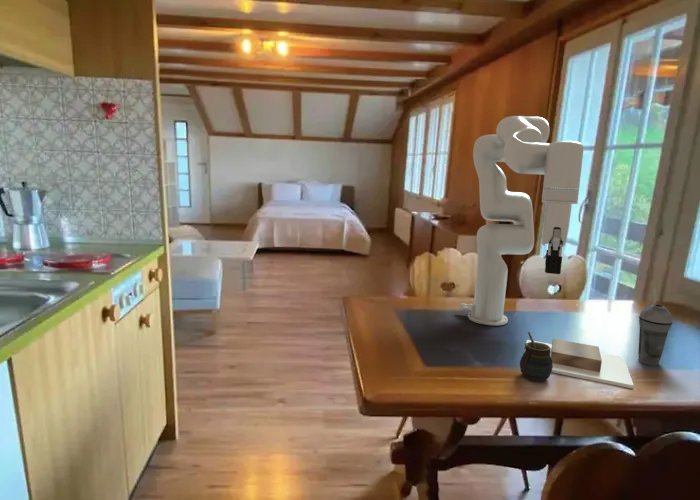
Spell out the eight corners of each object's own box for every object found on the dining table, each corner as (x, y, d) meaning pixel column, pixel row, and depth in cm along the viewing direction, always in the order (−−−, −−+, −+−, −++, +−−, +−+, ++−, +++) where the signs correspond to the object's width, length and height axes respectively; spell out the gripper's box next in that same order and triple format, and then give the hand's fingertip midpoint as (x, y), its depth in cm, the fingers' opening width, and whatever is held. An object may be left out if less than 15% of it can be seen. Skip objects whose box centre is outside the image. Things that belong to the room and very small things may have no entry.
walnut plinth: (550, 362, 113) (552, 351, 112) (551, 349, 122) (552, 338, 121) (600, 372, 108) (601, 360, 108) (596, 357, 117) (598, 346, 117)
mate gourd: (535, 386, 101) (539, 345, 100) (510, 373, 108) (514, 333, 106) (558, 381, 104) (562, 341, 102) (533, 368, 111) (537, 330, 109)
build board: (521, 366, 112) (522, 363, 112) (526, 342, 128) (526, 339, 128) (633, 388, 102) (633, 385, 102) (623, 359, 118) (623, 356, 118)
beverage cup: (666, 370, 113) (679, 293, 109) (632, 362, 116) (644, 288, 113) (664, 360, 119) (676, 287, 115) (632, 353, 123) (643, 283, 119)
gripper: (542, 195, 112) (535, 262, 114) (541, 196, 96) (534, 274, 99) (575, 196, 109) (568, 265, 111) (580, 198, 93) (571, 278, 96)
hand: (552, 269), depth 105 cm, fingers open, 9 cm apart
